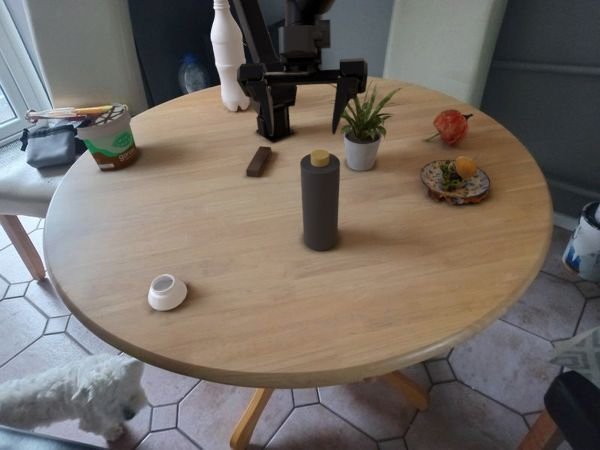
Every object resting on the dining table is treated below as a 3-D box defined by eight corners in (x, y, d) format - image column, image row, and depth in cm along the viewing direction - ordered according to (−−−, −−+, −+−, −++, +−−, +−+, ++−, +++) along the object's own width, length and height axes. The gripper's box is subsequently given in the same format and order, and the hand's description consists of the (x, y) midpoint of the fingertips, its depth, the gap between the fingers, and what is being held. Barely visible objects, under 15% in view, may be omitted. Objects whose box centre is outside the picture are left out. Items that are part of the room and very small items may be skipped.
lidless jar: (194, 288, 51) (165, 278, 53) (189, 274, 49) (159, 264, 51) (172, 317, 48) (142, 305, 50) (166, 303, 46) (134, 291, 48)
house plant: (306, 174, 71) (303, 90, 60) (332, 141, 80) (334, 63, 69) (378, 191, 66) (389, 103, 55) (398, 153, 75) (410, 71, 64)
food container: (124, 177, 73) (104, 131, 66) (96, 175, 74) (74, 129, 67) (154, 146, 82) (139, 102, 75) (129, 144, 83) (112, 101, 76)
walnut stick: (260, 152, 78) (259, 146, 77) (271, 153, 78) (270, 146, 77) (247, 176, 72) (245, 169, 71) (258, 177, 71) (257, 170, 70)
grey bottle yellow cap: (322, 223, 60) (321, 140, 50) (344, 240, 57) (348, 154, 47) (297, 238, 58) (291, 153, 48) (318, 256, 55) (317, 170, 45)
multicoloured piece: (453, 161, 72) (463, 125, 67) (503, 192, 64) (518, 154, 60) (404, 178, 69) (410, 143, 64) (450, 214, 61) (462, 176, 56)
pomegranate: (432, 160, 77) (481, 138, 71) (415, 131, 75) (464, 105, 69) (435, 146, 83) (481, 125, 77) (419, 118, 80) (465, 94, 75)
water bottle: (250, 112, 93) (234, -3, 76) (221, 113, 93) (199, -1, 76) (253, 100, 98) (238, -10, 81) (226, 101, 98) (206, -8, 82)
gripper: (226, 0, 49) (222, 114, 47) (370, -10, 47) (370, 110, 45) (248, 48, 60) (245, 142, 58) (365, 42, 58) (365, 140, 56)
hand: (301, 134), depth 54 cm, fingers open, 9 cm apart
